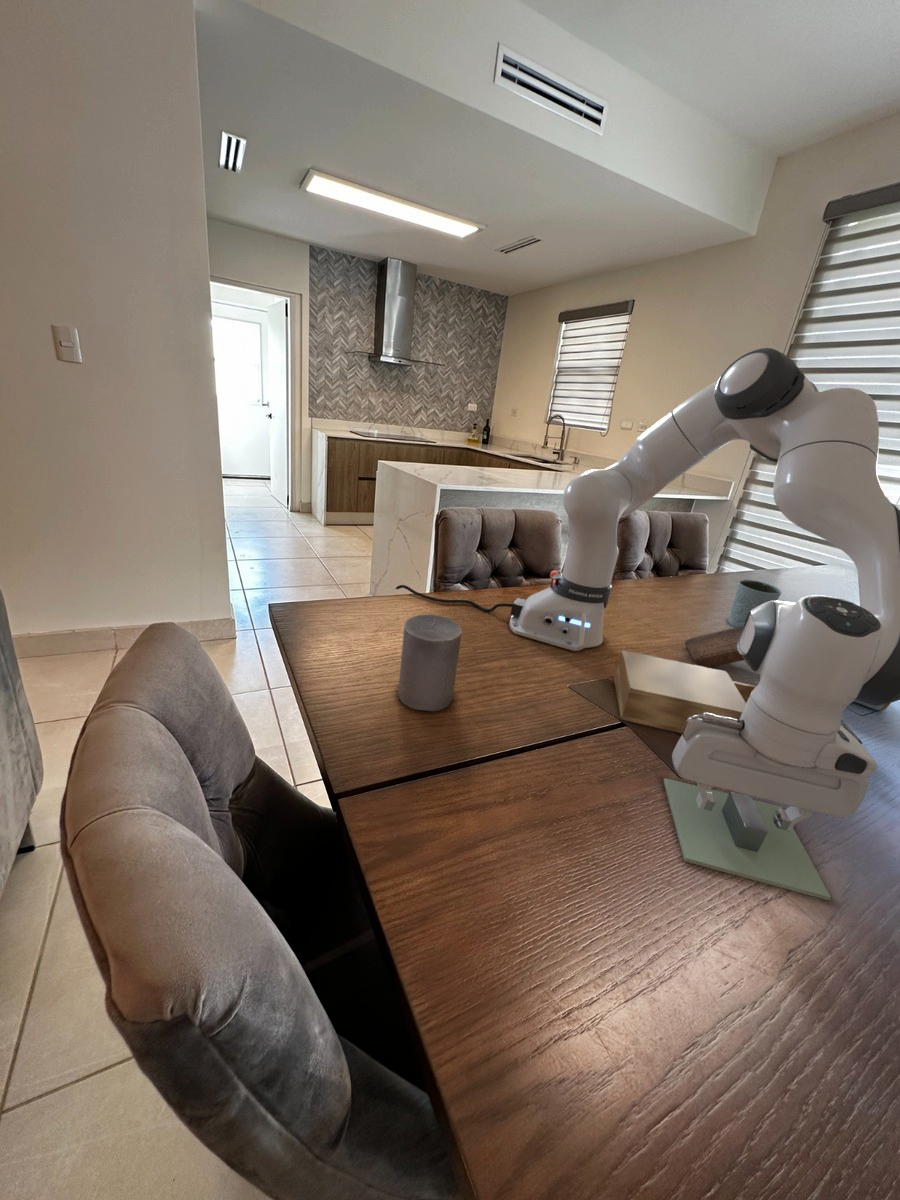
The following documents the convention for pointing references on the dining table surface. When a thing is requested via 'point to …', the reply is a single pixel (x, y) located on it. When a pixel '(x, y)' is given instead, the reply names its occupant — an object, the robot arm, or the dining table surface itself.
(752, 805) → the slate gray brick
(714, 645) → the small wooden bench
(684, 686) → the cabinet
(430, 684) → the pillar candle
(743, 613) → the teal plant pot
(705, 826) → the mat
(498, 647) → the dining table surface
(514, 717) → the dining table surface
